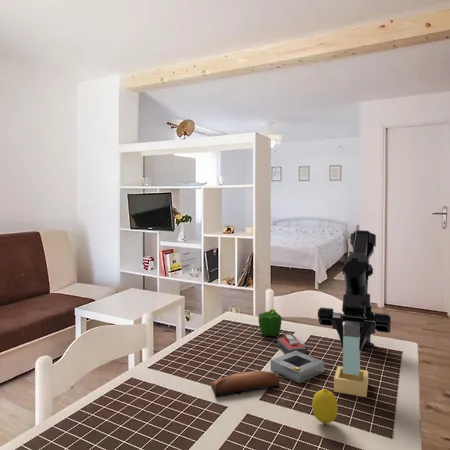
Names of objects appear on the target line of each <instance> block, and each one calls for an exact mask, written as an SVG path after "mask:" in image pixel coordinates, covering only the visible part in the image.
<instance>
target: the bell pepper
mask: <svg viewBox="0 0 450 450" xmlns="http://www.w3.org/2000/svg"><path fill="white" fill-rule="evenodd" d="M258 325H259V329H260V332H261V334H262V335H263V336H265V337H266V336H267V337H268V336H271V337H276V336H278V335H279V334H280V332H281V331H280V330H281V328H282V317H281V315H280V314H279V313H278V312H277V311H276V309H273V308H271V309H270V310H269V311H268V310H267V311H265V312H261V313H260V312H259V314H258Z"/></svg>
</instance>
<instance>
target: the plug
mask: <svg viewBox="0 0 450 450" xmlns="http://www.w3.org/2000/svg"><path fill="white" fill-rule="evenodd" d="M343 328H344V335H343V348H342V367H343V373H345V374H351V375H357V376H359V372H360V370H361V351H359V344H360V322H353V321H345V322H344V323H343Z"/></svg>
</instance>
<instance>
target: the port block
mask: <svg viewBox="0 0 450 450" xmlns="http://www.w3.org/2000/svg"><path fill="white" fill-rule="evenodd" d="M270 371H272V372H273V373H274V372H275V374H276V373H277V374H279V375H281V376H283V377H285V378H287V379H289V380H292V382H293V381H294V382H295V383H298V384H301V383H303V382H305V381H307V380H310V379H313V378H314V377H317V376H318V375H320V374H321V375H322V374H323V373H325V361H323V360H321V359H318V358H315V357H313V356H310V355H309V356H308V355H306V354H303V353H300V352H298V351H293V352H290V353H288V354H283V355H279V356H277V357H274V358H272V359H270Z"/></svg>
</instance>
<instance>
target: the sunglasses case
mask: <svg viewBox="0 0 450 450" xmlns="http://www.w3.org/2000/svg"><path fill="white" fill-rule="evenodd" d="M280 385H281V384H280V378H279V376H278V375H277V374H276V372H275V373H274V372H273V371H272V372H271V371H266V370H253V371H245V372H239V373H233V374H229V375H227V376H225V377H220V378H217V379H214V380H212V381H211V382H209V386H210V388H211V390H212V393H213V395H214V397H215V398H216V397H221V396H224V395H225V396H226V395H229V394H232V393H237V392H243V391H250V390H255V389H264V388H269V387H280Z"/></svg>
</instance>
